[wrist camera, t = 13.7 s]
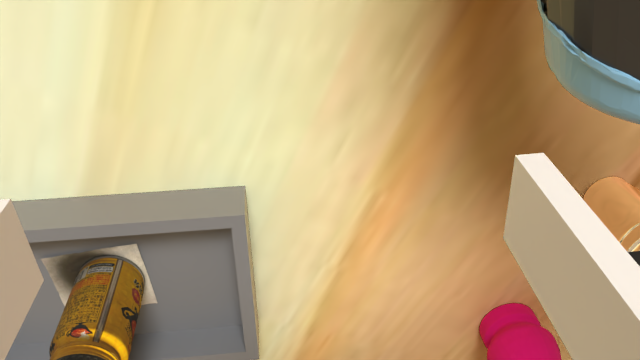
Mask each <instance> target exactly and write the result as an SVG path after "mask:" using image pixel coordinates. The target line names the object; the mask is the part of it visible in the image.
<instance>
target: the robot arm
mask: <svg viewBox="0 0 640 360" xmlns="http://www.w3.org/2000/svg"><path fill="white" fill-rule="evenodd" d="M537 4H538V9H539V12H540V14H541V17H542V19H543V33H544V48H545V56H546V59H547V62H548V65H549V68H550V69H551V70H552V71H553V72H554V74H555V76H556V78H557V80H558V81H559V82H560V83H561V85H562V86H563V87H564V88H565V89H566V90H567V91H568V92H569V93H570V94H572V95H573V96H574V97H576V98H577V99H579V100H580V101H582V102H583V103H585V104H587V105H589V106H590V107H592V108H594V109H596V110H599V111H601V112H603V113H605V114H608V115H611V116H613V117H616V118H619V119H622V120H626V121H629V122H633V123H637V124H640V0H537ZM503 239H504V240H505V242H506V244H507V246H508V247H509V249H510V251H511V253H512V254H513V256H514V258H515V260H516V261H517V263H518V265H519V267H520V268H521V270H522V272H523V274H524V275H525V277H526V279H527V281H528V282H529V284H530V286H531V288H532V289H533V291H534V293H535V295H536V296H537V298H538V300H539V302H540V303H541V305H542V307H543V309H544V310H545V312H546V314H547V316H548V317H549V319H550V321H551V323H552V324H553V326H554V328H555V330H556V331H557V333H558V335H559V337H560V338H561V340H562V342H563V344H564V345H565V347H566V349H567V351H568V352H569V354H570V356H571V358H572V359H573V360H640V251H633V252H627V251H626V250H625V249H624V247H623V246H622V245H621V244H620V243H619V241H618V240H617V239H616V238H615V237H614V235H613V234H612V233H611V232H610V231H609V230H608V228H607V227H606V226H605V225H604V224H603V222H602V221H601V220H600V219H599V218H598V217H597V215H596V214H595V213H594V212H593V211H592V209H591V208H590V207H589V206H588V205H587V204H586V202H585V201H584V200H583V199H582V198H581V196H580V195H579V194H578V193H577V192H576V190H575V189H574V188H573V187H572V186H571V185H570V183H569V182H568V181H567V180H566V179H565V177H564V176H563V175H562V174H561V173H560V172H559V170H558V169H557V168H556V167H555V166H554V164H553V163H552V162H551V161H550V160H549V159H548V157H547V156H546V155H545V154H544V153H535V154H523V155H515V160H514V167H513V174H512V181H511V187H510V194H509V201H508V208H507V215H506V222H505V229H504V236H503ZM43 281H44V279H43V277H42V274H41V272H40V269H39V267H38V264H37V262H36V260H35V257H34V255H33V252H32V250H31V247H30V245H29V243H28V240H27V238H26V235H25V233H24V230H23V228H22V225H21V223H20V221H19V218H18V216H17V213H16V211H15V208H14V206H13V203H12V201H11V199H2V200H0V360H5V358H6V356H7V354H8V352H9V350H10V348H11V346H12V344H13V342H14V340H15V338H16V336H17V334H18V332H19V330H20V328H21V326H22V323H23V321H24V319H25V317H26V315H27V313H28V311H29V309H30V307H31V305H32V303H33V301H34V299H35V297H36V295H37V293H38V291H39V289H40V287H41V285H42V283H43Z"/></svg>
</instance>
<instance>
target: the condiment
mask: <svg viewBox="0 0 640 360" xmlns="http://www.w3.org/2000/svg"><path fill="white" fill-rule="evenodd" d="M41 260H42V262H43V264H44V265H45V267H46V269H47V271H48V273H49V275H50V277H51V279H52V281H53V283H54V285H55V287H56V289H57V291H58V292H59V295H60V298H61V300H62V302H63V304H64V306H65V308H64V311H63V313H62V316H61V319H60V321H59V324H58V326H57V329H56V331H55V334H54V336H53V339H52V341H51V344H50V349H49V355H50V360H128V358H129V354H130V351H131V346H132V341H133V336H134V332H135V328H136V324H137V319H138V316H139V312H140V308H141V305H145V304H152V303H157V299H156V297H155V293H154V291H153V287H152V284H151V282H150V279H149V276H148V273H147V270H146V268H145V265H144V262H143V260H142V258H141V255H140V252H139V249H138V246H137V244H131V245H124V246H115V247H111V248H109V247H108V248H101V249H95V250H91V251H85V252H81V253H73V254H65V255H59V256H55V257H50V258H43V259H41Z"/></svg>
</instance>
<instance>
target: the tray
mask: <svg viewBox="0 0 640 360" xmlns="http://www.w3.org/2000/svg"><path fill="white" fill-rule="evenodd" d="M12 203H13V206H14V208H15V211H16V213H17V216H18V218H19V221H20V223H21V225H22V228H23V230H24V233H25V235H26V238H27V240H28V243H29V245H30V247H31V250H32V252H33V255H34V257H35V260H36V262H37V264H38V267H39V269H40V272H41V274H42V277H43V279H44V281H43V283H42V285H41V287H40V289H39V291H38V293H37V295H36V297H35V299H34V301H33V303H32V305H31V307H30V309H29V311H28V313H27V315H26V317H25V319H24V321H23V323H22V326H21V328H20V330H19V332H18V334H17V336H16V338H15V340H14V342H13V344H12V346H11V348H10V350H9V352H8V354H7V356H6V358H5V360H50V355H49V349H50V344H51V341H52V339H53V336H54V334H55V331H56V329H57V326H58V324H59V321H60V319H61V316H62V313H63V311H64V308H65V306H64V304H63V302H62V300H61V298H60V295H59V292H58V291H57V289H56V287H55V285H54V283H53V281H52V279H51V277H50V275H49V273H48V271H47V269H46V267H45V265H44V264H43V262H42V260H41V259H43V258H50V257H55V256H59V255H65V254H73V253H81V252H85V251H91V250H95V249H101V248H108V247H109V248H111V247H115V246H124V245H131V244H137V246H138V249H139V252H140V255H141V258H142V260H143V262H144V265H145V268H146V270H147V273H148V276H149V279H150V282H151V284H152V287H153V291H154V293H155V297H156V299H157V303H152V304H145V305H141V308H140V312H139V316H138V319H137V324H136V328H135V332H134V336H133V341H132V346H131V351H130V354H129V358H128V360H257V359H259V325H258V314H257V304H256V294H255V283H254V273H253V263H252V252H251V242H250V232H249V221H248V211H247V201H246V191H245V186H237V187H222V188H207V189H192V190H177V191H162V192H147V193H132V194H117V195H102V196H87V197H72V198H57V199H42V200H27V201H12Z"/></svg>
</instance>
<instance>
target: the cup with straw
mask: <svg viewBox="0 0 640 360" xmlns="http://www.w3.org/2000/svg"><path fill="white" fill-rule="evenodd" d="M583 200H584V201H585V202H586V204H587V205H588V206H589V207H590V208H591V209H592V211H593V212H594V213H595V214H596V215H597V217H598V218H599V219H600V220H601V221H602V222H603V224H604V225H605V226H606V227H607V228H608V230H609V231H610V232H611V233H612V234H613V235H614V237H615V238H616V239H617V240H618V241H619V243H620V244H621V245H622V246H623V247H624V249H625V250H626V251H627V252H633V251H640V190H639V189H637V188H636V187H634V186H633V185H631V184H629V183H627V182H626V181H625V180H624V179H622V178H620V177H615V176H611V177H606V178H602V179H600V180H598V181H597V182H595V183H594V184H592V185H591V186H590V187H589V188H588V190H587V191H586V193H585V194H584V197H583Z"/></svg>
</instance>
